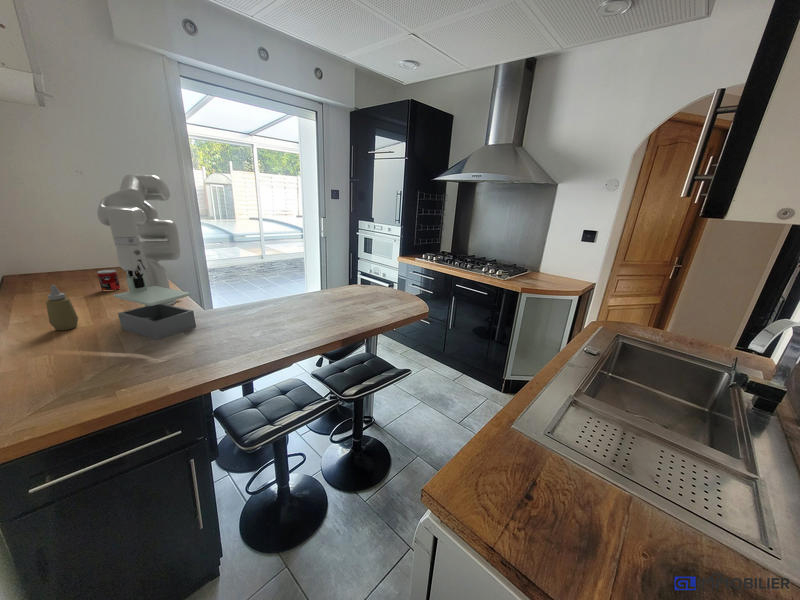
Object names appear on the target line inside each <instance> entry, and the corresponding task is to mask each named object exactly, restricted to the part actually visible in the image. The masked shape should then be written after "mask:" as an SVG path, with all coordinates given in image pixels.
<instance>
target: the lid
mask: <svg viewBox="0 0 800 600" xmlns="http://www.w3.org/2000/svg"><path fill="white" fill-rule="evenodd" d="M133 279H134V276H130V277H127V276H126V277H125V280H126V282H127V283H126V284H127V287H128V291H125V292H124V291H123V292H121V293H116V294H115V293H114V294H113V297H114V298H117V299H120V300H124V301H129V302H133V303H137V304H140V305H144V306H145V305H148V306H154V305H157V304H161V303H165V302H169V301H173V300H176V301H177V300H180V299H183V298H186V297H190V296H191V295H192V294H191V292H186V291H182V290H177V289H172V288H170V289H168V288H164V287H159V286H152V287H147V286H146V282H145V277H144V275H143V280H144V285H145V287H142V288H135V285H134V281H133Z"/></svg>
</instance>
